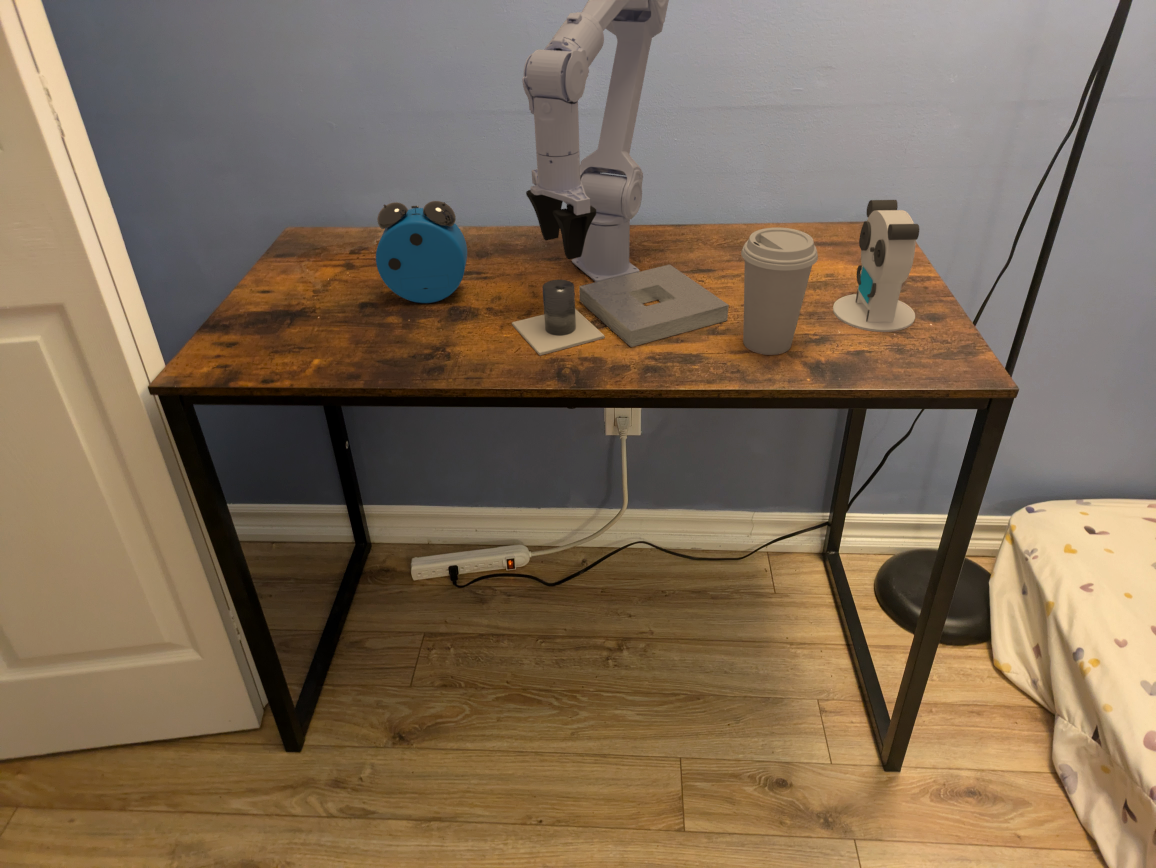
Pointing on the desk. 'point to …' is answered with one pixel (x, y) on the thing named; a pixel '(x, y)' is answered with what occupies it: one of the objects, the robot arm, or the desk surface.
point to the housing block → (642, 324)
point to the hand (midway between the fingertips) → (562, 247)
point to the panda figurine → (881, 271)
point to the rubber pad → (550, 343)
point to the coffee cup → (775, 287)
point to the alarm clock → (421, 251)
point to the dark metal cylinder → (559, 307)
